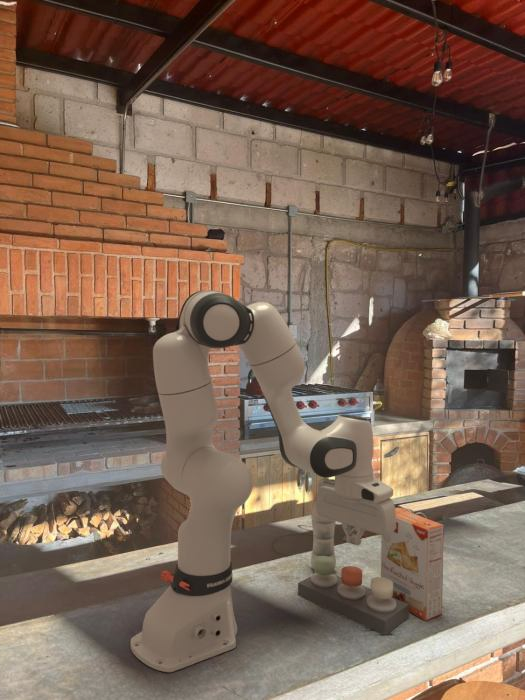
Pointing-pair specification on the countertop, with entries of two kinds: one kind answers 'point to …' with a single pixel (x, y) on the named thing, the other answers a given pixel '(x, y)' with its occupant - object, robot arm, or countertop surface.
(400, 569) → the cracker box
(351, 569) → the button orange
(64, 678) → the countertop surface
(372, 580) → the button cream
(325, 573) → the button sage
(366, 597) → the button panel
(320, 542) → the plastic bottle
